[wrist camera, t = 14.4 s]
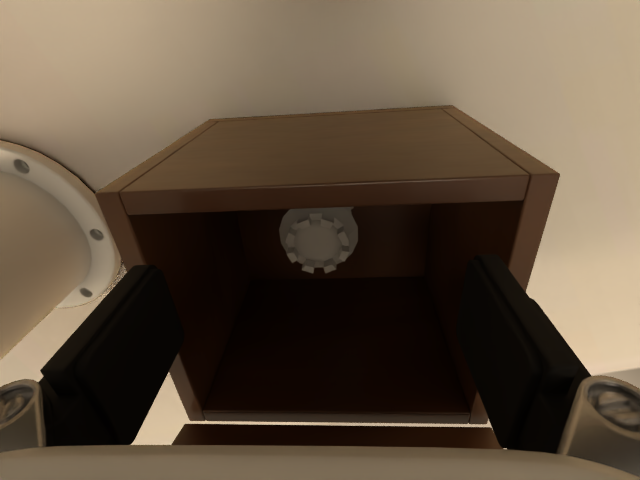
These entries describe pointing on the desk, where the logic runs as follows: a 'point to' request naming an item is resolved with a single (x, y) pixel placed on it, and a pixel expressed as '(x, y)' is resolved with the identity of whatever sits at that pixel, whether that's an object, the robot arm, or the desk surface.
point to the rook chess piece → (319, 236)
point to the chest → (349, 277)
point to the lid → (337, 436)
